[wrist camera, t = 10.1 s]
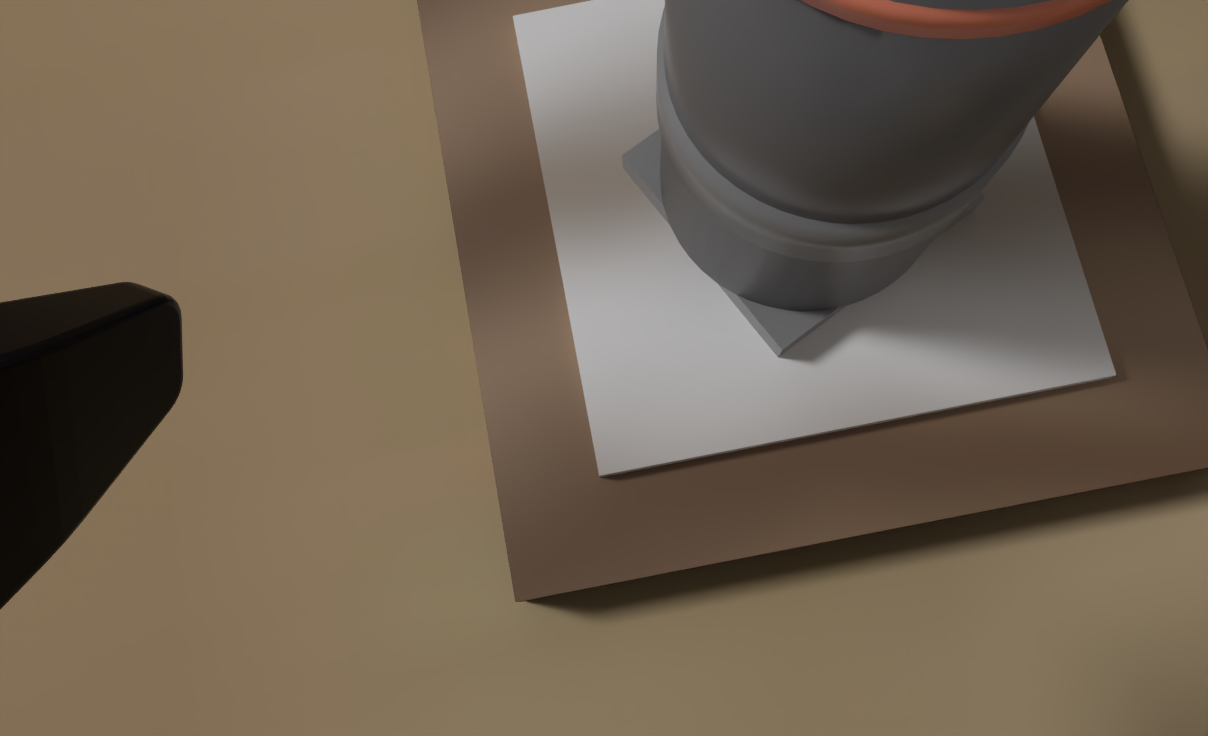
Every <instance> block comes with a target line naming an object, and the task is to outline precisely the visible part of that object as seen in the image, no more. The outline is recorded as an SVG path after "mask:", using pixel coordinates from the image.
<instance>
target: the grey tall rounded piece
mask: <svg viewBox="0 0 1208 736" xmlns="http://www.w3.org/2000/svg"><path fill="white" fill-rule="evenodd" d="M1127 1H1128V0H665V7H664V10H663V14H662V18H661V23H660V27H659V32H658V45H657V76H656V104H657V119H658V124H659V129H658V130H657V131H655V132H654V133H652V134H651V135H650V136H648V137H647V138H645V139H644V140H643V141H641V142H640V143H638V144H637V145H636V146H634V147H633V148H631V149H630V150H629V151H627V152H626V153H624V154H623V155H622V164H623V169H624V170H625V171H626V173H627V174H628V175H629V176H630V177H631V179H632V180H633V181H634V182H635V184H636V185H637V186H638V187H639V188H640V190H641V191H642V192H643V193H644V195H645V196H646V197H647V198H648V199H649V201H650V202H651V203H652V204H653V206H654V207H655V208H656V209H657V210H658V212H659V213H660V214H661V215H662V216H663V218H664V219H665V220H666V221H667V223H668V224H669V225H670V226H671V228H672V230H673V232H674V234H675V236H676V238H677V240H678V242H679V243H680V245H681V246H682V248H683V249H684V250H685V252H686V253H687V255H688V256H689V257H690V258H691V260H692V261H693V262H694V263H695V264H696V265H697V266H698V267H699V268H700V269H701V270H702V271H703V272H704V273H705V274H707V275H708V276H709V277H710V278H711V279H713V280H714V281H715V282H716V283H717V284H718V285H719V286H720V287H721V289H722V290H723V291H724V292H725V293H726V295H727V296H728V297H729V298H730V300H731V301H732V302H733V303H734V304H735V306H736V307H737V308H738V309H739V311H740V312H741V313H742V314H743V315H744V317H745V318H746V319H747V320H748V322H749V323H750V324H751V325H752V326H753V328H754V329H755V330H756V331H757V333H758V334H759V335H760V336H761V337H762V339H763V340H764V341H765V342H766V343H767V345H768V346H769V347H770V348H771V350H772V351H773V352H774V353H775V354H776V356H777V357H779V356H780V355H782V354H783V353H784V352H786V351H787V350H788V349H790V348H791V347H792V346H794V345H795V344H796V343H798V342H799V341H800V340H802V339H803V338H804V337H806V336H807V335H808V334H810V333H811V332H812V331H814V330H815V329H816V328H818V327H819V326H820V325H822V324H823V323H824V322H826V321H827V320H828V319H830V318H831V317H832V316H834V315H835V314H836V313H838V312H839V311H840V310H842V309H843V308H844V307H846V306H847V305H850V304H853V303H856V302H859V301H862V300H864V299H866V298H868V297H870V296H872V295H874V294H876V293H878V292H880V291H881V290H883V289H885V288H886V287H888V286H889V285H891V284H892V283H894V282H895V281H896V280H897V279H898V278H899V277H901V276H902V275H903V274H904V273H905V272H906V271H908V269H909V268H910V267H911V266H912V265H913V264H914V263H915V261H916V260H917V259H918V258H919V257H920V256H921V254H922V253H923V252H924V251H925V249H926V248H927V247H928V246H929V244H930V243H931V242H932V241H933V240H935V239H936V238H937V237H939V236H940V235H941V234H943V233H944V232H945V231H947V230H948V229H949V228H951V227H952V226H953V225H955V224H956V223H957V222H959V221H960V220H961V219H963V218H964V217H965V216H967V215H968V214H969V213H971V212H972V211H973V210H975V209H976V207H977V206H978V205H979V204H980V203H981V202H982V200H983V199H984V198H985V196H984V195H983V194H982V193H981V191H982V190H983V188H984V187H985V186H986V185H987V184H988V182H989V181H990V180H991V179H992V178H993V176H994V175H995V174H996V173H997V172H998V170H999V169H1000V168H1001V167H1002V166H1003V164H1004V163H1005V162H1006V161H1007V160H1008V158H1009V157H1010V156H1011V154H1012V152H1013V151H1014V149H1015V148H1016V146H1017V145H1018V143H1019V142H1020V140H1021V139H1022V137H1023V134H1024V132H1025V130H1026V128H1027V126H1028V123H1029V122H1030V120H1031V119H1032V118H1033V117H1034V115H1035V114H1036V113H1037V112H1038V111H1039V109H1040V108H1041V107H1042V106H1043V104H1044V103H1045V102H1046V101H1047V99H1048V98H1049V97H1050V96H1051V95H1052V93H1053V92H1054V91H1055V90H1056V88H1057V87H1058V86H1059V85H1060V83H1061V82H1062V81H1063V80H1064V79H1065V77H1066V76H1067V75H1068V74H1069V72H1070V71H1071V70H1072V69H1073V67H1074V66H1075V65H1076V64H1077V63H1078V61H1079V60H1080V59H1081V58H1082V56H1083V55H1084V54H1085V53H1086V52H1087V50H1088V49H1089V48H1090V47H1091V45H1092V44H1093V43H1094V42H1095V40H1096V39H1097V38H1098V37H1099V36H1100V34H1101V33H1102V32H1103V31H1104V29H1105V28H1106V27H1107V26H1108V24H1109V23H1110V22H1111V21H1112V20H1113V18H1114V17H1115V16H1116V15H1117V13H1118V12H1119V11H1120V10H1121V9H1122V7H1123V6H1124V5H1125V4H1126V2H1127Z"/></svg>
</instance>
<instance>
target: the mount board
mask: <svg viewBox="0 0 1208 736" xmlns="http://www.w3.org/2000/svg"><path fill="white" fill-rule="evenodd" d="M417 3H418V9H419V15H420V21H421V28H422V34H423V40H424V46H425V52H426V58H427V64H428V70H429V76H430V83H431V89H432V95H433V101H434V107H435V113H436V119H437V125H438V131H439V138H440V144H441V150H442V156H443V162H444V168H445V174H446V180H447V187H448V193H449V199H450V205H451V211H452V217H453V223H454V229H455V235H456V242H457V248H458V254H459V260H460V266H461V272H462V278H463V284H464V291H465V297H466V303H467V309H468V315H469V321H470V327H471V333H472V339H473V346H474V352H475V358H476V364H477V370H478V376H479V382H480V388H481V394H482V401H483V407H484V413H485V419H486V425H487V431H488V437H489V443H490V450H491V456H492V462H493V468H494V474H495V480H496V486H497V492H498V498H499V505H500V511H501V517H502V523H503V529H504V535H505V541H506V547H507V554H508V560H509V566H510V572H511V578H512V584H513V590H514V596H515V602H521V601H527V600H533V599H538V598H543V597H548V596H553V595H558V594H563V593H569V592H574V591H579V590H584V589H589V588H594V587H599V586H605V585H610V584H615V583H620V582H625V581H630V580H635V579H641V578H646V577H651V576H656V575H661V574H666V573H671V572H677V571H682V570H687V569H692V568H697V567H702V566H707V565H713V564H718V563H723V562H728V561H733V560H738V559H743V558H749V557H754V556H759V555H764V554H769V553H774V552H779V551H785V550H790V549H795V548H800V547H805V546H810V545H815V544H821V543H826V542H831V541H836V540H841V539H846V538H851V537H857V536H862V535H867V534H872V533H877V532H882V531H887V530H893V529H898V528H903V527H908V526H913V525H918V524H923V523H929V522H934V521H939V520H944V519H949V518H954V517H959V516H965V515H970V514H975V513H980V512H985V511H990V510H995V509H1000V508H1006V507H1011V506H1016V505H1021V504H1026V503H1031V502H1036V501H1042V500H1047V499H1052V498H1057V497H1062V496H1067V495H1072V494H1078V493H1083V492H1088V491H1093V490H1098V489H1103V488H1108V487H1114V486H1119V485H1124V484H1129V483H1134V482H1139V481H1144V480H1150V479H1155V478H1160V477H1165V476H1170V475H1175V474H1180V473H1186V472H1191V471H1196V470H1201V469H1206V468H1208V348H1207V345H1206V343H1205V340H1204V337H1203V334H1202V331H1201V328H1200V325H1199V322H1198V319H1197V316H1196V313H1195V311H1194V308H1193V305H1192V302H1191V299H1190V296H1189V293H1188V290H1187V287H1186V284H1185V281H1184V279H1183V276H1182V273H1181V270H1180V267H1179V264H1178V261H1177V258H1176V255H1175V252H1174V249H1173V246H1172V244H1171V241H1170V238H1169V235H1168V232H1167V229H1166V226H1165V223H1164V220H1163V217H1162V214H1161V212H1160V209H1159V206H1158V203H1157V200H1156V197H1155V194H1154V191H1153V188H1152V185H1151V182H1150V180H1149V177H1148V174H1147V171H1146V168H1145V165H1144V162H1143V159H1142V156H1141V153H1140V150H1139V147H1138V145H1137V142H1136V139H1135V136H1134V133H1133V130H1132V127H1131V124H1130V121H1129V118H1128V115H1127V113H1126V110H1125V107H1124V104H1123V101H1122V98H1121V95H1120V92H1119V89H1118V86H1117V83H1116V81H1115V78H1114V75H1113V72H1112V69H1111V66H1110V63H1109V60H1108V57H1107V54H1106V51H1105V48H1104V46H1103V43H1102V40H1101V37H1100V36H1099V37H1098V38H1097V39H1096V40H1095V42H1094V43H1093V44H1092V45H1091V47H1090V48H1089V49H1088V50H1087V52H1086V53H1085V54H1084V55H1083V56H1082V58H1081V59H1080V60H1079V61H1078V63H1077V64H1076V65H1075V66H1074V67H1073V69H1072V70H1071V71H1070V72H1069V74H1068V75H1067V76H1066V77H1065V79H1064V80H1063V81H1062V82H1061V83H1060V85H1059V86H1058V87H1057V88H1056V90H1055V91H1054V92H1053V93H1052V95H1051V96H1050V97H1049V98H1048V99H1047V101H1046V102H1045V103H1044V104H1043V106H1042V107H1041V108H1040V109H1039V111H1038V112H1037V113H1036V114H1035V115H1034V117H1033V118H1032V119H1031V120H1030V122H1029V123H1028V126H1027V128H1026V130H1025V132H1024V134H1023V137H1022V139H1021V140H1020V142H1019V143H1018V145H1017V146H1016V148H1015V149H1014V151H1013V152H1012V154H1011V156H1010V157H1009V158H1008V160H1007V161H1006V162H1005V163H1004V164H1003V166H1002V167H1001V168H1000V169H999V170H998V172H997V173H996V174H995V175H994V176H993V178H992V179H991V180H990V181H989V182H988V184H987V185H986V186H985V187H984V188H983V190H982V191H981V193H982V194H983V195H984V196H985V198H984V199H983V200H982V202H981V203H980V204H979V205H978V206H977V207H976V209H975V210H973V211H972V212H971V213H969V214H968V215H967V216H965V217H964V218H963V219H961V220H960V221H959V222H957V223H956V224H955V225H953V226H952V227H951V228H949V229H948V230H947V231H945V232H944V233H943V234H941V235H940V236H939V237H937V238H936V239H935V240H933V241H932V242H931V243H930V244H929V246H928V247H927V248H926V249H925V251H924V252H923V253H922V254H921V256H920V257H919V258H918V259H917V260H916V261H915V263H914V264H913V265H912V266H911V267H910V268H909V269H908V271H906V272H905V273H904V274H903V275H902V276H901V277H899V278H898V279H897V280H896V281H895V282H894V283H892V284H891V285H889V286H888V287H886V288H885V289H883V290H881V291H880V292H878V293H876V294H874V295H872V296H870V297H868V298H866V299H864V300H862V301H859V302H856V303H853V304H850V305H847V306H846V307H844V308H843V309H842V310H840V311H839V312H838V313H836V314H835V315H834V316H832V317H831V318H830V319H828V320H827V321H826V322H824V323H823V324H822V325H820V326H819V327H818V328H816V329H815V330H814V331H812V332H811V333H810V334H808V335H807V336H806V337H804V338H803V339H802V340H800V341H799V342H798V343H796V344H795V345H794V346H792V347H791V348H790V349H788V350H787V351H786V352H784V353H783V354H782V355H780V356H779V357H777V356H776V354H775V353H774V352H773V351H772V350H771V348H770V347H769V346H768V345H767V343H766V342H765V341H764V340H763V339H762V337H761V336H760V335H759V334H758V333H757V331H756V330H755V329H754V328H753V326H752V325H751V324H750V323H749V322H748V320H747V319H746V318H745V317H744V315H743V314H742V313H741V312H740V311H739V309H738V308H737V307H736V306H735V304H734V303H733V302H732V301H731V300H730V298H729V297H728V296H727V295H726V293H725V292H724V291H723V290H722V289H721V287H720V286H719V285H718V284H717V283H716V282H715V281H714V280H713V279H711V278H710V277H709V276H708V275H707V274H705V273H704V272H703V271H702V270H701V269H700V268H699V267H698V266H697V265H696V264H695V263H694V262H693V261H692V260H691V258H690V257H689V256H688V255H687V253H686V252H685V250H684V249H683V248H682V246H681V245H680V243H679V242H678V240H677V238H676V236H675V234H674V232H673V230H672V228H671V226H670V225H669V224H668V223H667V221H666V220H665V219H664V218H663V216H662V215H661V214H660V213H659V212H658V210H657V209H656V208H655V207H654V206H653V204H652V203H651V202H650V201H649V199H648V198H647V197H646V196H645V195H644V193H643V192H642V191H641V190H640V188H639V187H638V186H637V185H636V184H635V182H634V181H633V180H632V179H631V177H630V176H629V175H628V174H627V173H626V171H625V170H624V169H623V164H622V155H623V154H624V153H626V152H627V151H629V150H630V149H631V148H633V147H634V146H636V145H637V144H638V143H640V142H641V141H643V140H644V139H645V138H647V137H648V136H650V135H651V134H652V133H654V132H655V131H657V130H658V129H659V124H658V119H657V104H656V76H657V45H658V32H659V27H660V23H661V18H662V14H663V10H664V7H665V0H417Z"/></svg>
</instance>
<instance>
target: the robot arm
mask: <svg viewBox="0 0 1208 736" xmlns="http://www.w3.org/2000/svg"><path fill="white" fill-rule="evenodd" d="M182 382H183V355H182V318H181V310H180V308H179V305H178V303H177V302H176V300H174V299H173V298H172V297H171V296H169V295H167V294H164V293H161V292H159V291H156V290H153V289H150V288H148V287H145V286H142V285H139V284H136V283H132V282H121V283H115V284H109V285H103V286H97V287H91V288H85V289H79V290H73V291H67V292H61V293H55V294H49V295H43V296H37V297H31V298H25V299H19V300H13V301H7V302H1V303H0V609H1V608H2V607H3V606H4V605H5V604H6V603H7V602H8V601H9V600H10V599H11V598H12V597H13V596H14V595H15V594H16V593H17V592H18V591H19V590H20V589H21V588H22V587H23V586H24V585H25V584H26V583H27V582H28V581H29V580H30V579H31V578H32V576H33V575H34V574H35V573H36V572H37V571H38V570H39V569H40V568H41V567H42V566H43V565H44V564H45V563H46V562H47V561H48V560H49V559H50V558H51V556H52V555H53V554H54V553H55V552H56V551H57V550H58V549H59V548H60V547H61V546H62V545H63V544H64V542H65V541H66V540H67V539H68V538H69V537H70V535H71V534H72V533H73V532H74V531H75V529H76V528H77V527H78V526H79V525H80V524H81V522H82V521H83V520H84V519H85V517H86V516H87V515H88V514H89V512H90V511H91V510H92V509H93V507H94V506H95V505H96V503H97V502H98V501H99V500H100V498H101V497H102V496H103V495H104V493H105V492H106V491H107V489H108V488H109V487H110V486H111V484H112V483H113V482H114V481H115V479H116V478H117V477H118V476H119V474H120V473H121V472H122V470H123V469H124V468H125V467H126V465H127V464H128V463H129V462H130V460H131V459H132V458H133V456H134V455H135V454H136V453H137V451H138V450H139V449H140V448H141V446H142V445H143V444H144V443H145V441H146V440H147V439H148V437H149V436H150V435H151V434H152V432H153V431H154V430H155V429H156V427H157V426H158V425H159V423H160V422H161V421H162V420H163V418H164V417H165V416H166V415H167V413H168V412H169V411H170V410H171V408H172V407H173V405H174V404H175V402H176V400H177V398H178V396H179V393H180V390H181V387H182Z"/></svg>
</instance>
